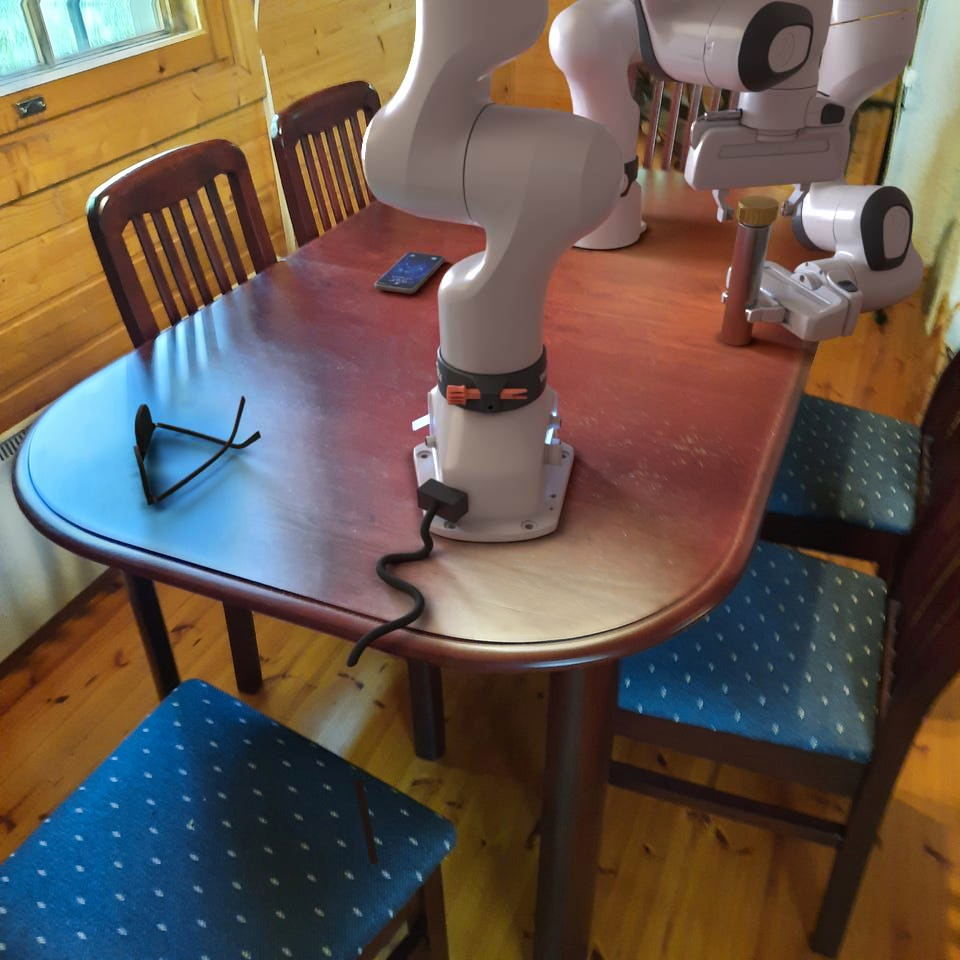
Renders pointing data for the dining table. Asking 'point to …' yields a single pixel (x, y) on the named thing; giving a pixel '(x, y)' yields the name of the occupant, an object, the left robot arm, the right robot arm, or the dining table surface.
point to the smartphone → (409, 272)
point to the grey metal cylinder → (744, 281)
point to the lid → (757, 210)
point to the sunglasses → (147, 427)
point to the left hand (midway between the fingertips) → (756, 218)
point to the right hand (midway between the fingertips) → (735, 307)
